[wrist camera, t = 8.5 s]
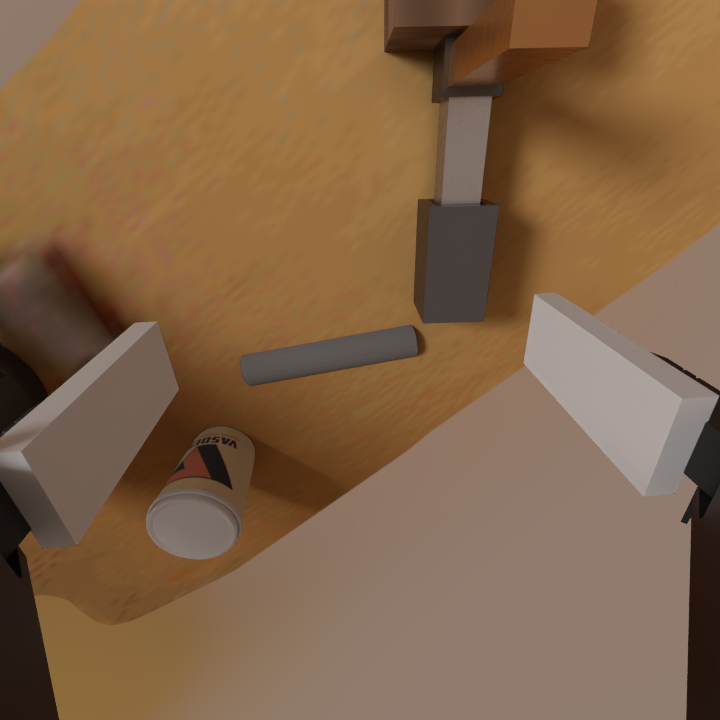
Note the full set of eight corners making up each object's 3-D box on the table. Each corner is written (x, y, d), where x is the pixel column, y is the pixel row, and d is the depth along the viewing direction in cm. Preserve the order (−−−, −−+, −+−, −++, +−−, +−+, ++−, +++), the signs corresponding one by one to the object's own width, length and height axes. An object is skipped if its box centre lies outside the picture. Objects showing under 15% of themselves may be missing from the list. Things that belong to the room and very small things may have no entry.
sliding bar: (423, 262, 38) (468, 327, 24) (437, -8, 29) (524, -160, 15) (468, 260, 38) (539, 325, 24) (496, -9, 29) (640, -161, 15)
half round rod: (417, 354, 45) (420, 362, 43) (252, 384, 46) (248, 392, 44) (412, 320, 43) (415, 327, 41) (240, 352, 44) (236, 360, 42)
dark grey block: (413, 301, 41) (423, 323, 36) (418, 199, 36) (429, 207, 31) (466, 300, 41) (483, 321, 36) (478, 197, 36) (499, 205, 31)
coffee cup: (252, 416, 47) (224, 493, 37) (269, 473, 52) (249, 556, 41) (176, 425, 48) (127, 503, 37) (199, 481, 52) (162, 565, 41)
